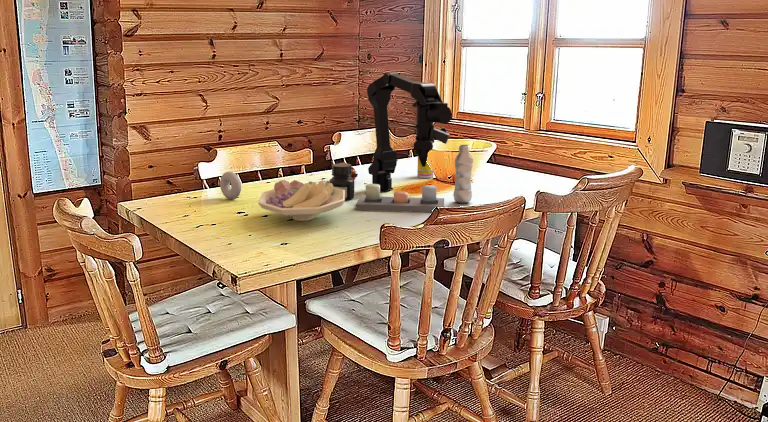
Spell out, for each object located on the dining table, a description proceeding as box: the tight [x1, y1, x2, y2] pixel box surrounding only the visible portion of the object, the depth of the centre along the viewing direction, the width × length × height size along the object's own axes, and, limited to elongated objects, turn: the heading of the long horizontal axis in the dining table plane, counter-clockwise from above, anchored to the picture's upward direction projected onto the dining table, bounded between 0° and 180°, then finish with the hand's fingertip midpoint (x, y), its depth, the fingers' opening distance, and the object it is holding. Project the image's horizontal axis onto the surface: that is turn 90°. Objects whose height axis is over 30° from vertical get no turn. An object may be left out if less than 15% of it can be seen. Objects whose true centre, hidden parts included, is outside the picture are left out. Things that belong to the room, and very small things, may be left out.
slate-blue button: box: [421, 184, 438, 201], centre depth 228 cm, size 5×5×4 cm
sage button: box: [365, 183, 381, 200], centre depth 230 cm, size 5×5×4 cm
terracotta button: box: [393, 190, 409, 204], centre depth 229 cm, size 5×5×4 cm
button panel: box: [355, 195, 445, 213], centre depth 230 cm, size 29×12×2 cm, turn 84°
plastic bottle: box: [452, 144, 474, 204], centre depth 234 cm, size 6×7×20 cm
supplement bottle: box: [416, 156, 435, 179], centre depth 277 cm, size 7×7×13 cm
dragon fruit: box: [341, 162, 359, 181], centre depth 267 cm, size 8×8×12 cm
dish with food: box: [257, 179, 346, 222], centre depth 214 cm, size 28×28×14 cm
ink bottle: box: [328, 162, 355, 201], centre depth 240 cm, size 10×9×12 cm
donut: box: [219, 171, 242, 200], centre depth 238 cm, size 10×4×10 cm, turn 48°
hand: (423, 166), depth 234 cm, fingers closed
